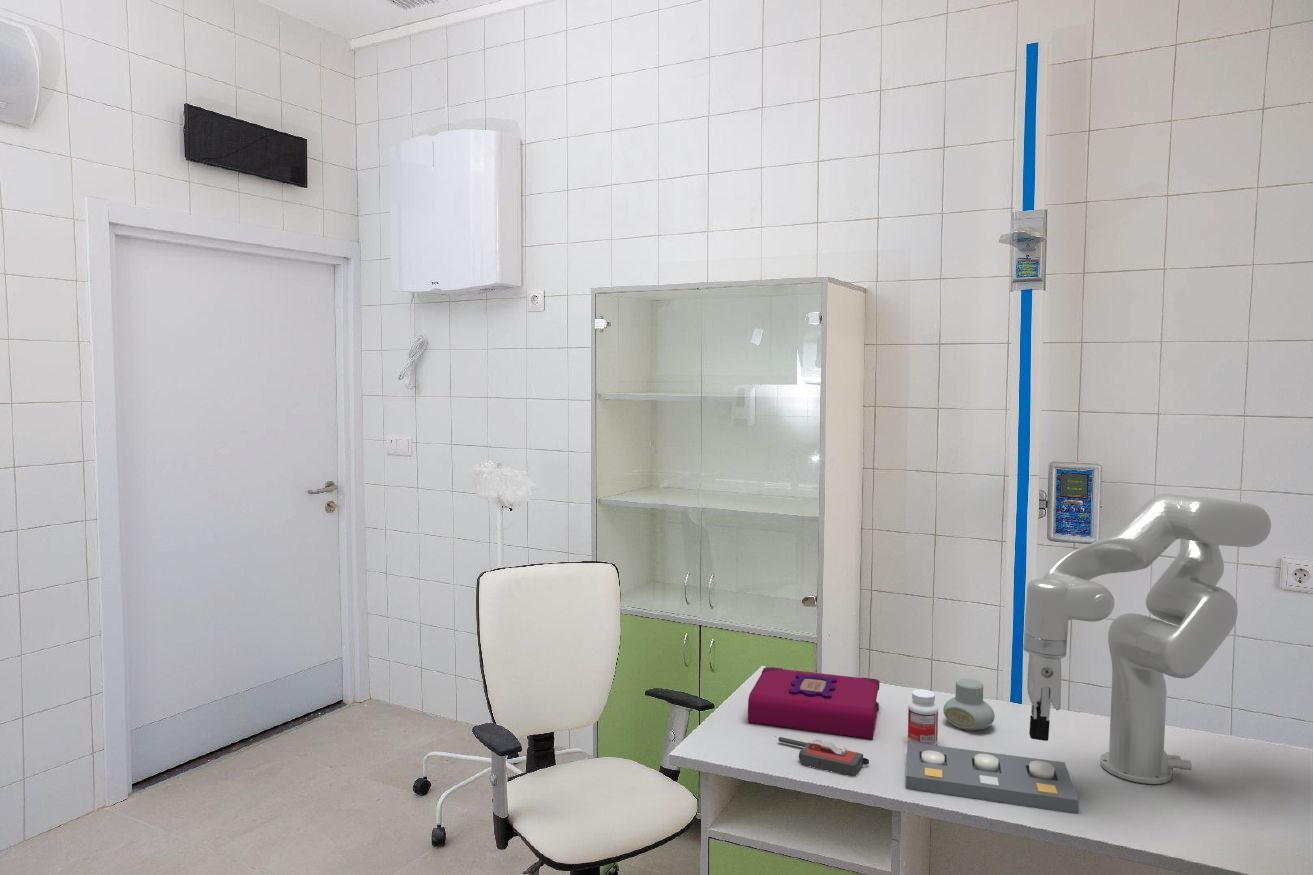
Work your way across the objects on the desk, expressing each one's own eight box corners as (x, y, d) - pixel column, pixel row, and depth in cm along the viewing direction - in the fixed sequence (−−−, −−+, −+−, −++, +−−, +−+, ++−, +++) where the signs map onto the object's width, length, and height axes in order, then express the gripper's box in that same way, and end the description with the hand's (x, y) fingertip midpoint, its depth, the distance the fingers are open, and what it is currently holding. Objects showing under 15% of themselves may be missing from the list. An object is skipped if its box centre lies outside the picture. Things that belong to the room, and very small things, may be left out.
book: (873, 742, 182) (874, 708, 181) (747, 725, 191) (747, 693, 190) (879, 707, 202) (879, 676, 201) (764, 693, 210) (765, 664, 210)
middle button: (997, 764, 166) (997, 755, 166) (999, 773, 162) (999, 764, 162) (973, 761, 168) (973, 752, 167) (974, 770, 163) (975, 761, 163)
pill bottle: (918, 734, 185) (919, 685, 185) (942, 743, 181) (944, 693, 180) (901, 741, 181) (902, 692, 181) (926, 751, 177) (928, 700, 176)
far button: (944, 760, 169) (944, 752, 169) (944, 770, 165) (944, 761, 165) (921, 757, 171) (921, 749, 171) (921, 766, 166) (921, 758, 166)
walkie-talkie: (872, 763, 172) (780, 743, 181) (872, 742, 172) (780, 723, 181) (860, 781, 164) (765, 758, 174) (861, 759, 164) (765, 738, 173)
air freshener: (937, 723, 191) (938, 680, 191) (954, 713, 197) (956, 672, 196) (982, 738, 183) (984, 693, 183) (1000, 727, 189) (1001, 684, 188)
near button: (1052, 771, 163) (1052, 762, 163) (1055, 781, 159) (1056, 772, 159) (1027, 768, 165) (1028, 759, 164) (1030, 778, 160) (1030, 769, 160)
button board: (1064, 774, 167) (1064, 760, 166) (1078, 813, 151) (1078, 798, 151) (907, 753, 176) (907, 740, 175) (905, 788, 160) (906, 774, 160)
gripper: (1073, 658, 152) (1066, 757, 153) (1060, 636, 166) (1054, 727, 167) (1028, 653, 154) (1021, 750, 155) (1019, 632, 168) (1013, 721, 169)
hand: (1038, 737), depth 161 cm, fingers closed
